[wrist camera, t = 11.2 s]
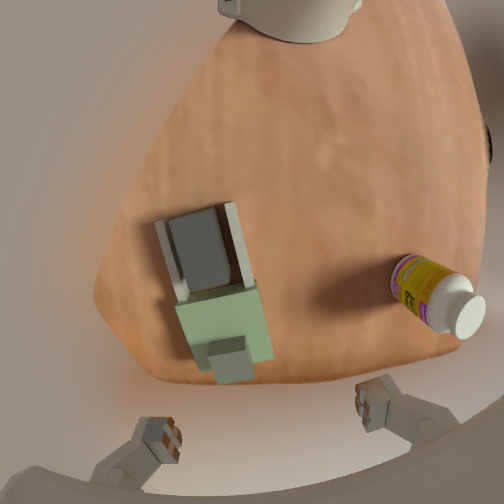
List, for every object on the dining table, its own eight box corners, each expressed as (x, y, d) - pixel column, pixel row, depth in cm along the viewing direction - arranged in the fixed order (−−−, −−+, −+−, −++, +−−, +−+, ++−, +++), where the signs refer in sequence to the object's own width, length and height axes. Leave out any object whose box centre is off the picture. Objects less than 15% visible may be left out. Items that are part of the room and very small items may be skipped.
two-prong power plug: (157, 221, 29) (138, 229, 24) (237, 200, 29) (235, 203, 23) (202, 358, 34) (196, 387, 28) (271, 345, 33) (277, 374, 28)
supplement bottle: (380, 277, 32) (439, 322, 19) (415, 242, 31) (483, 271, 19) (402, 310, 33) (456, 359, 21) (434, 277, 32) (495, 313, 20)
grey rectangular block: (231, 267, 31) (229, 282, 26) (196, 275, 31) (189, 291, 26) (215, 206, 29) (210, 210, 25) (180, 215, 29) (168, 221, 25)
